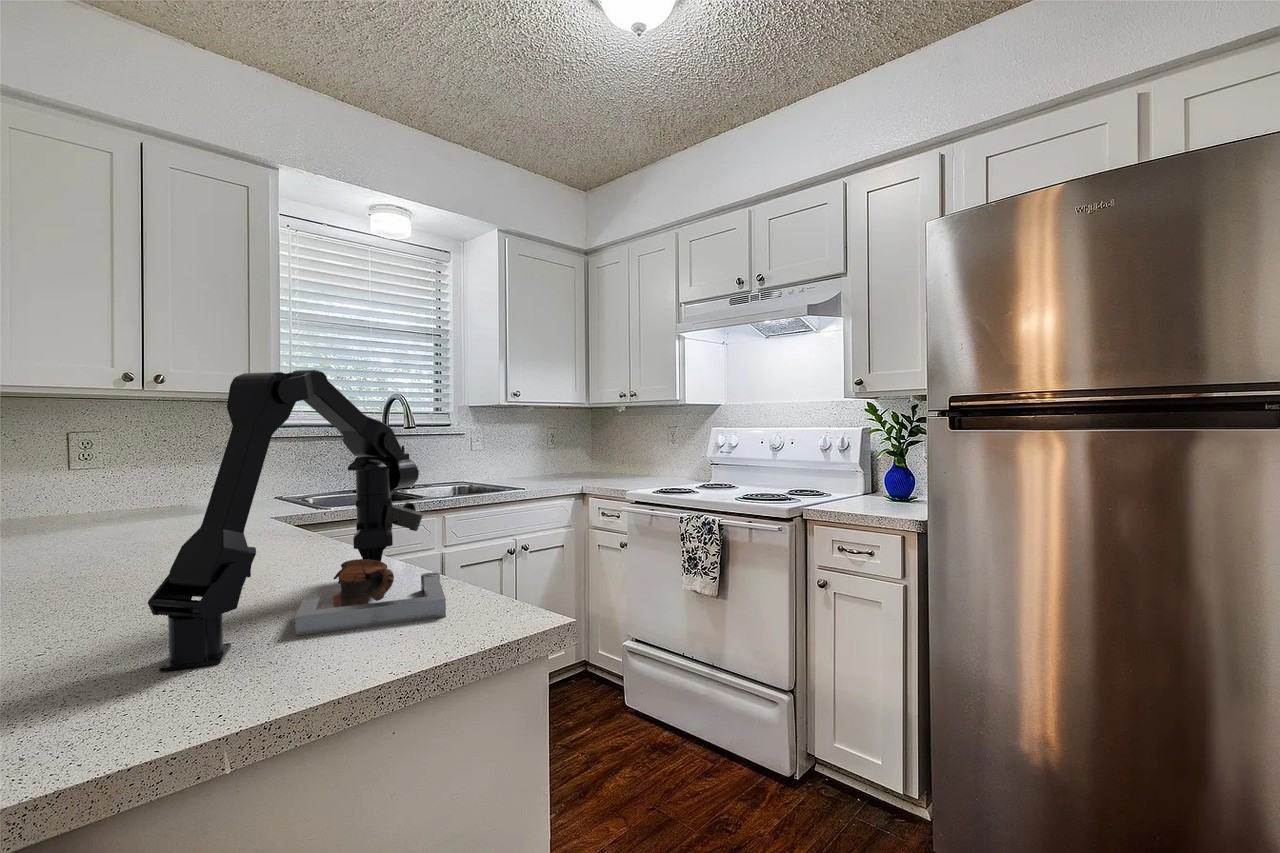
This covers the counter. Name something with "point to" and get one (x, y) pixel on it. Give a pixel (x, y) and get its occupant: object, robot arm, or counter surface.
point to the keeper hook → (372, 610)
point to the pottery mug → (362, 582)
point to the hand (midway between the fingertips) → (374, 577)
